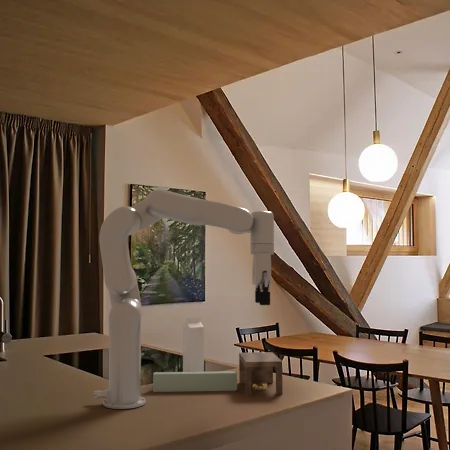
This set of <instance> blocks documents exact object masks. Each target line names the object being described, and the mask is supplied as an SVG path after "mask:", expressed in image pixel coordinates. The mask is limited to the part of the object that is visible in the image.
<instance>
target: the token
mask: <svg viewBox="0 0 450 450" xmlns="http://www.w3.org/2000/svg"><path fill="white" fill-rule="evenodd" d="M254 389H255V390H254ZM265 389H266V390H268V383H263V382H256V383H252V390H254V391H266V390H265Z"/></svg>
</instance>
